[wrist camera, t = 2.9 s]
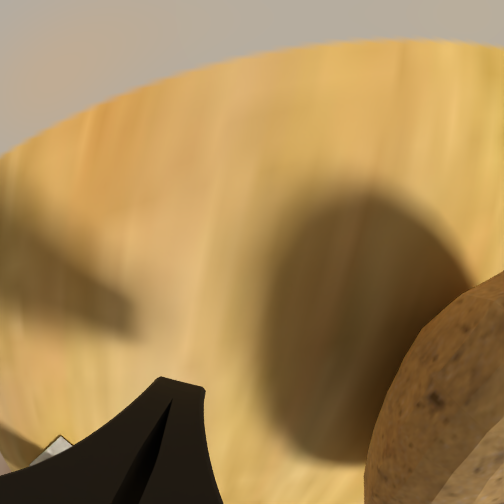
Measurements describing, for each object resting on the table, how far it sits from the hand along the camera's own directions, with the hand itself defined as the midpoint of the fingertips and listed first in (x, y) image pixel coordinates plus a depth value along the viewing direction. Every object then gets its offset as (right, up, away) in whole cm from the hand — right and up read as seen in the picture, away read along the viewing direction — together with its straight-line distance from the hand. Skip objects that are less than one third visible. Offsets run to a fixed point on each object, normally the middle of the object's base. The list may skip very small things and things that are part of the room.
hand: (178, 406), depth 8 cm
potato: (+11, -1, +4) cm, 12 cm away
